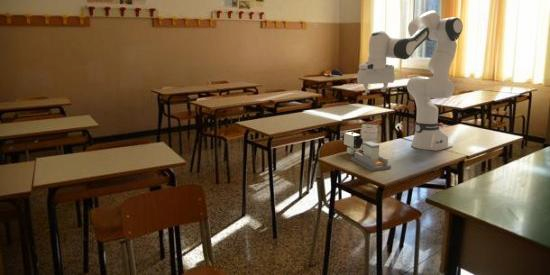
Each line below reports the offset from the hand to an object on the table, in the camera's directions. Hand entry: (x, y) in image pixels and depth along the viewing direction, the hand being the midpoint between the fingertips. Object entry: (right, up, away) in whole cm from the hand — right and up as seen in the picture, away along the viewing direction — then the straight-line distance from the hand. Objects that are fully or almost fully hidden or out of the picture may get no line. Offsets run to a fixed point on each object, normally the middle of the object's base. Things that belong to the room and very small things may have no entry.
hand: (375, 92), depth 212 cm
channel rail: (-4, -36, -8) cm, 37 cm away
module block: (-4, -34, -8) cm, 35 cm away
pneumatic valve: (-10, -32, +10) cm, 35 cm away
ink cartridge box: (0, -30, +17) cm, 34 cm away
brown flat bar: (-4, -35, -8) cm, 36 cm away
